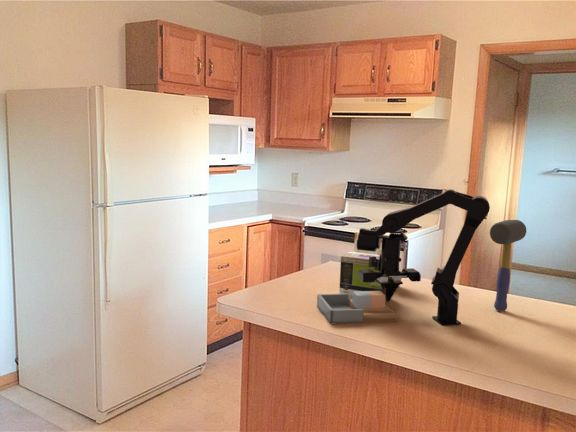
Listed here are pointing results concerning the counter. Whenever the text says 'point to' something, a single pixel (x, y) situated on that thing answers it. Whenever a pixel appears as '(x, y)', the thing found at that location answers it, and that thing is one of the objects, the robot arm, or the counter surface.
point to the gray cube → (361, 299)
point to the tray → (338, 309)
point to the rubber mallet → (505, 255)
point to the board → (375, 314)
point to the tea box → (356, 273)
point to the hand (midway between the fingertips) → (387, 301)
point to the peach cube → (377, 299)
